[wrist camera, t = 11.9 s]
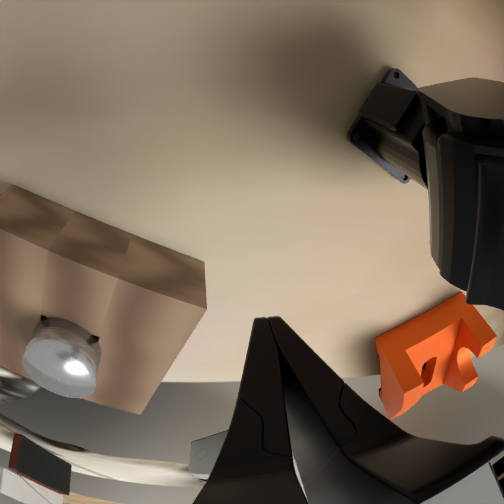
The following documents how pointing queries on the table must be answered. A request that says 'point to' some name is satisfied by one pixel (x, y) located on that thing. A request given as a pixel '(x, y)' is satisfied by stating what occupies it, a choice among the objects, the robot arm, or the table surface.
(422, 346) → the tape dispenser
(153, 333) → the walnut block
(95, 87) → the table surface
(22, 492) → the grey rectangular block
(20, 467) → the radio
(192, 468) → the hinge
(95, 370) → the steel peg
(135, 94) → the table surface
